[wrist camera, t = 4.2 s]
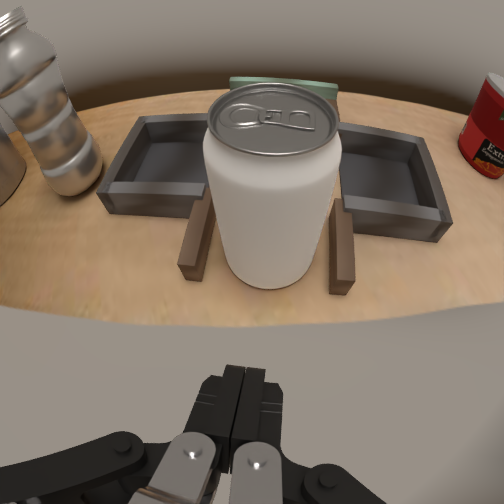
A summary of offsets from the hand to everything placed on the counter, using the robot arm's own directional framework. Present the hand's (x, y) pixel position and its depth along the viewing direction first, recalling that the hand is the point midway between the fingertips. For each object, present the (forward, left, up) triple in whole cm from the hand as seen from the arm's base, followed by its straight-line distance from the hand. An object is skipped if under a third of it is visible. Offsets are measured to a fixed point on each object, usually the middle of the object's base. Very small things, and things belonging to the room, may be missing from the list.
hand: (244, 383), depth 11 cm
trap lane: (0, +18, -7) cm, 19 cm away
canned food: (+26, +27, -8) cm, 38 cm away
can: (0, +10, -8) cm, 13 cm away
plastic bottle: (-20, +17, -8) cm, 27 cm away
